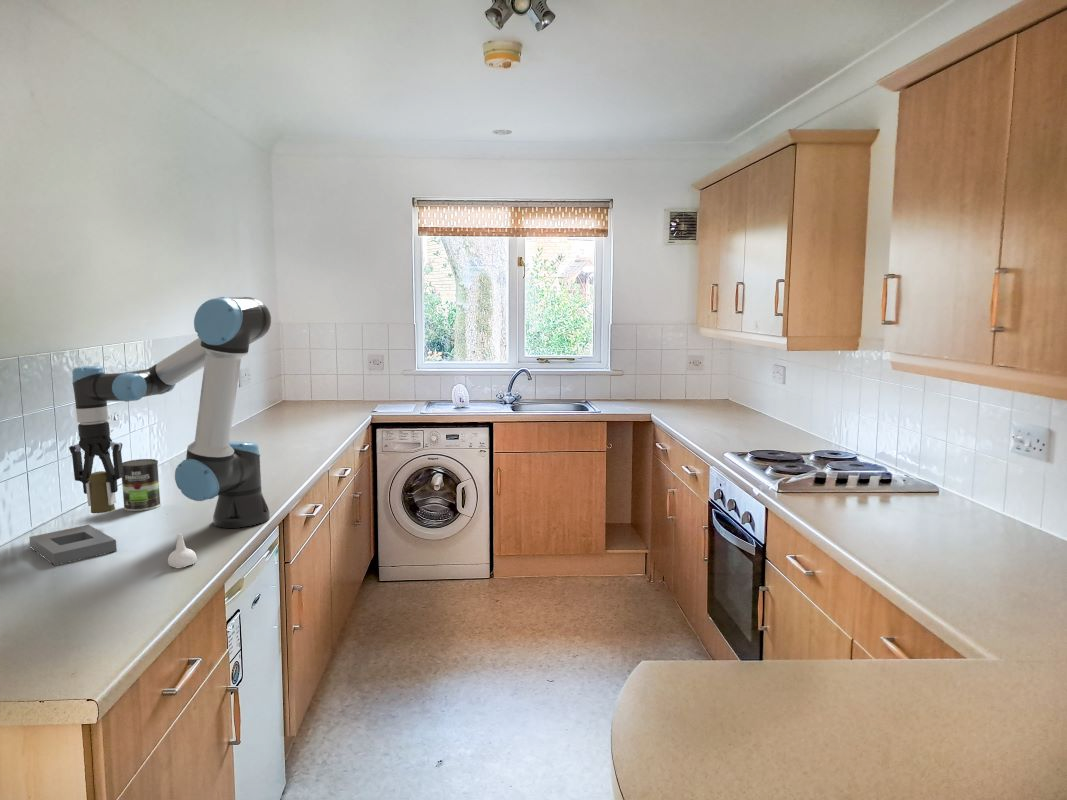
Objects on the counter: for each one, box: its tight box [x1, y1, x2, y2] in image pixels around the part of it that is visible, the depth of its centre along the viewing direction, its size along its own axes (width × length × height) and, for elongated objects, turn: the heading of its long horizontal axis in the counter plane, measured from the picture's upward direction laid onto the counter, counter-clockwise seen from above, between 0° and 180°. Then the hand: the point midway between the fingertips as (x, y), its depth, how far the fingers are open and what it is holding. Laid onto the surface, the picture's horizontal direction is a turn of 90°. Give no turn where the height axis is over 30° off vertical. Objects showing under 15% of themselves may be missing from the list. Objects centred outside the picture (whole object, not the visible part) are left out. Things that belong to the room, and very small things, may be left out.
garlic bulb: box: [167, 532, 197, 568], centre depth 187 cm, size 6×6×8 cm
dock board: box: [29, 524, 118, 566], centre depth 199 cm, size 20×14×3 cm
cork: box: [89, 470, 116, 514], centre depth 217 cm, size 6×6×11 cm
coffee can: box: [121, 458, 162, 512], centre depth 238 cm, size 10×10×14 cm
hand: (102, 504), depth 217 cm, fingers closed on cork, 5 cm apart
